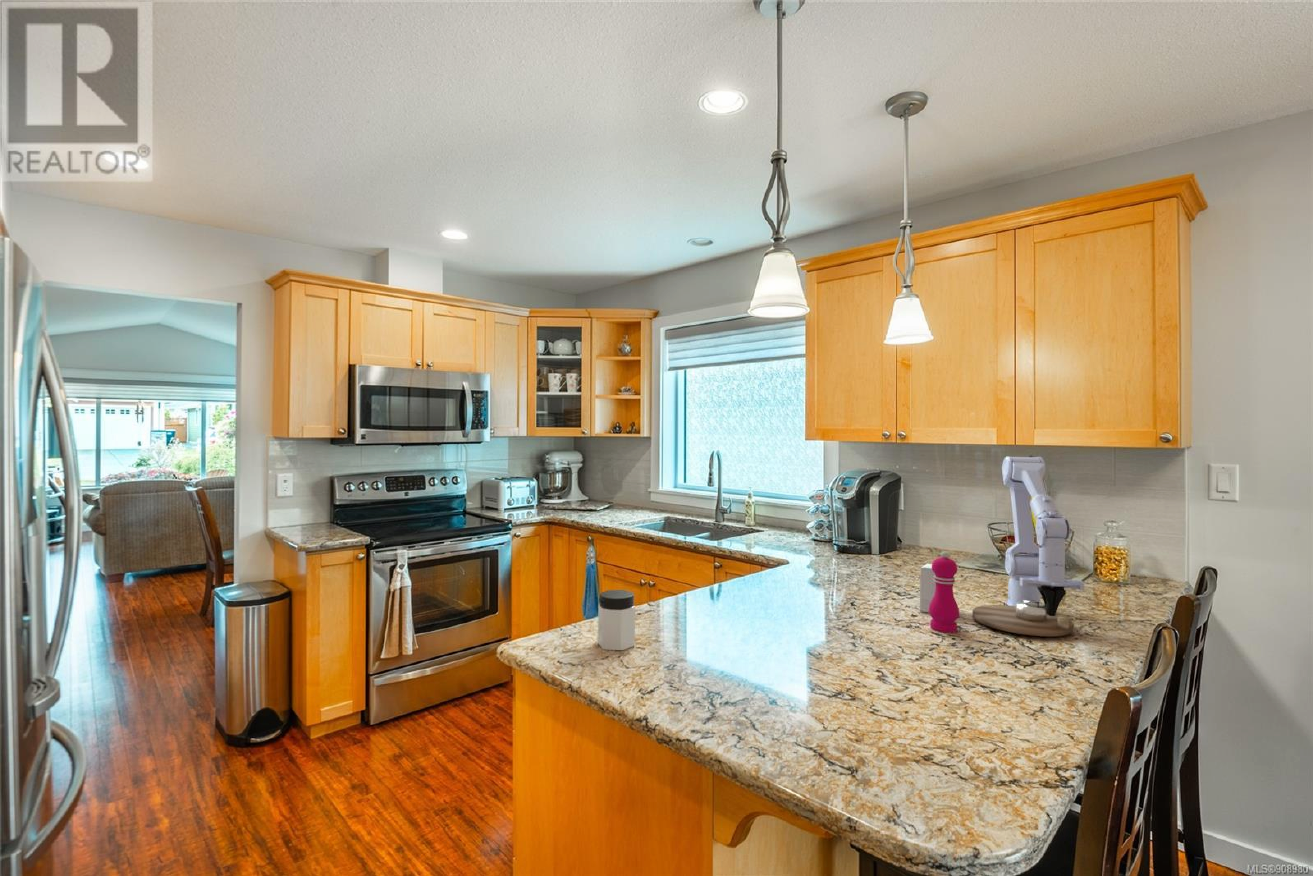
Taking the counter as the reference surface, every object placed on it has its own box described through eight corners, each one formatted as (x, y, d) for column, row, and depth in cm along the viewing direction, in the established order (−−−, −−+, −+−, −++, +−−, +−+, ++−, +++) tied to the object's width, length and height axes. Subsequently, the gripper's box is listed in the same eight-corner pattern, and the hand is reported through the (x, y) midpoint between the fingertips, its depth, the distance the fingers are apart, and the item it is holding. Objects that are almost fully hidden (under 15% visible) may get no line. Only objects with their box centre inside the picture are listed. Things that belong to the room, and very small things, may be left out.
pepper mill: (952, 625, 162) (953, 549, 162) (963, 634, 154) (964, 554, 154) (924, 624, 162) (925, 548, 162) (933, 632, 155) (935, 553, 155)
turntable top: (962, 606, 176) (962, 594, 176) (1051, 612, 171) (1051, 599, 171) (988, 632, 153) (988, 618, 153) (1091, 639, 148) (1091, 624, 148)
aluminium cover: (1011, 613, 165) (1011, 596, 165) (1039, 615, 164) (1039, 598, 164) (1022, 621, 159) (1022, 603, 158) (1051, 623, 157) (1051, 605, 157)
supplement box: (947, 616, 169) (947, 570, 169) (918, 611, 174) (919, 566, 174) (953, 610, 175) (953, 566, 175) (925, 605, 180) (926, 562, 180)
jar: (595, 640, 147) (595, 590, 147) (628, 637, 150) (628, 588, 150) (603, 653, 139) (603, 600, 139) (638, 649, 141) (638, 597, 141)
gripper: (1027, 565, 158) (1026, 617, 158) (1090, 568, 155) (1089, 621, 155) (1017, 559, 165) (1016, 609, 165) (1077, 562, 162) (1076, 613, 162)
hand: (1051, 615), depth 161 cm, fingers closed
